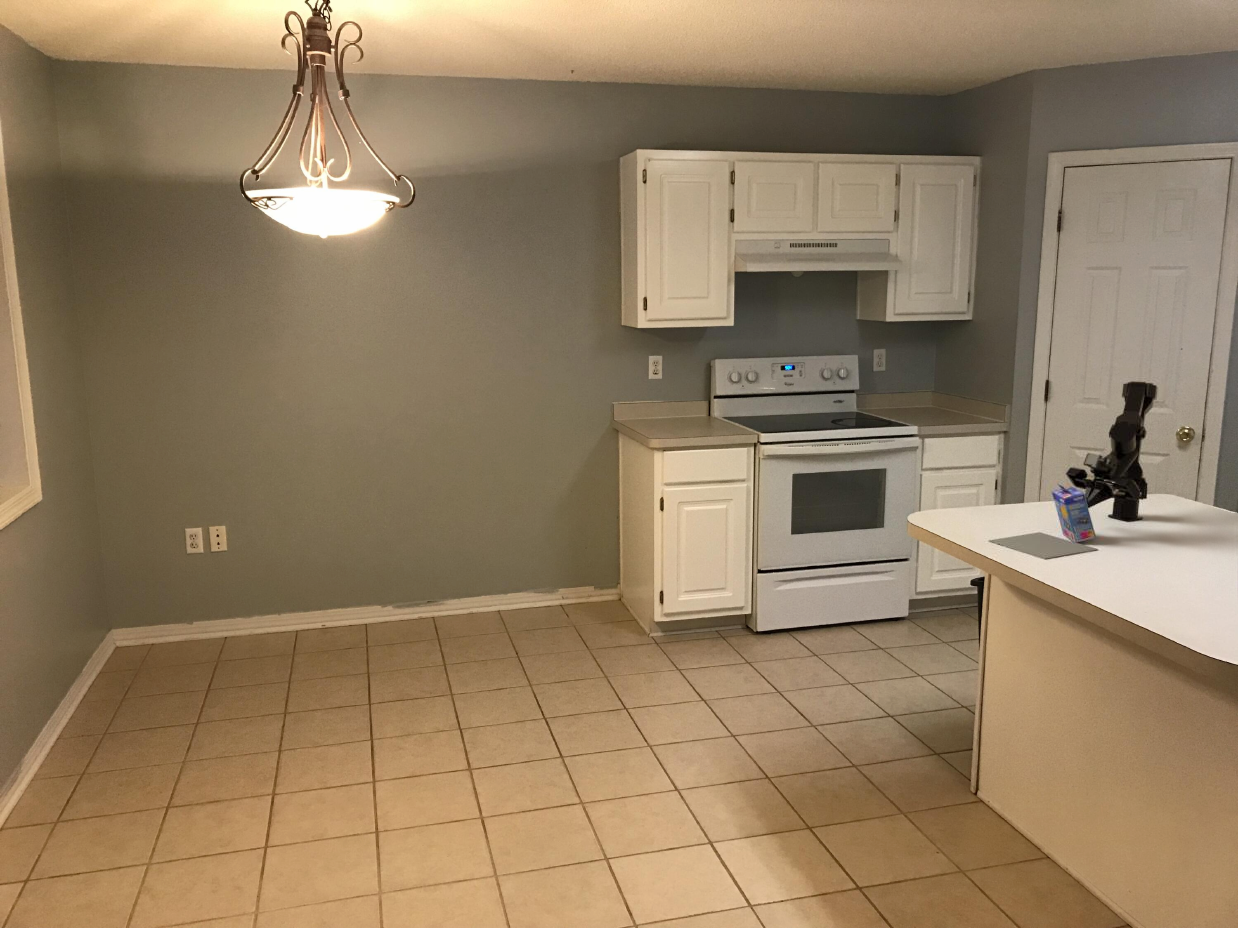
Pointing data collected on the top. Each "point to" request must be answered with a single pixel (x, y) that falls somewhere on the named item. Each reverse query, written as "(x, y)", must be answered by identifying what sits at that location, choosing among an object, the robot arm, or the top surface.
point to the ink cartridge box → (1073, 514)
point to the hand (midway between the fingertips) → (1084, 507)
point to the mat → (1043, 545)
